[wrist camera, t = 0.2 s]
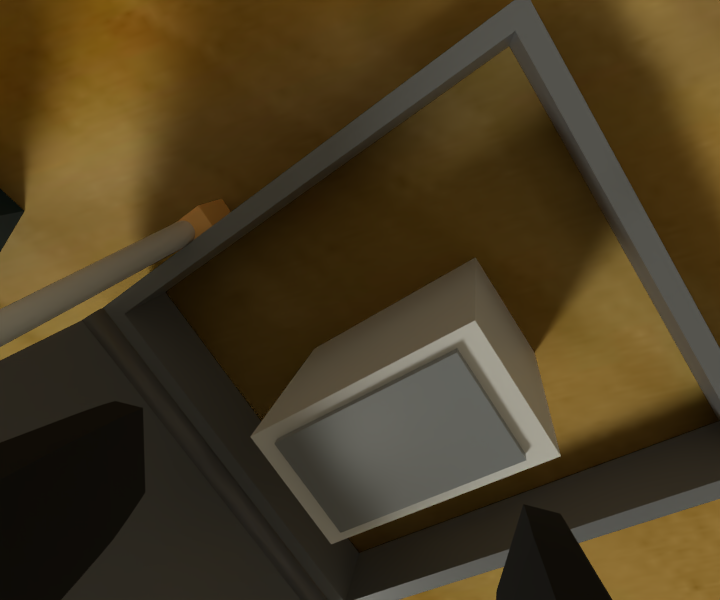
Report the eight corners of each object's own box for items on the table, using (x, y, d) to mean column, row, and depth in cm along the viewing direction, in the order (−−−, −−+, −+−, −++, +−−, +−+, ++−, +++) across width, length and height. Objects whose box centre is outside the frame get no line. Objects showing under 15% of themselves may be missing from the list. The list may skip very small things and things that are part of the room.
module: (534, 352, 18) (562, 462, 12) (371, 428, 20) (328, 551, 14) (475, 256, 17) (474, 324, 11) (315, 348, 19) (246, 441, 14)
